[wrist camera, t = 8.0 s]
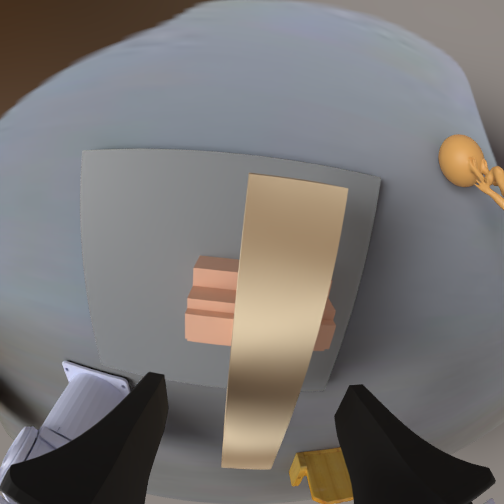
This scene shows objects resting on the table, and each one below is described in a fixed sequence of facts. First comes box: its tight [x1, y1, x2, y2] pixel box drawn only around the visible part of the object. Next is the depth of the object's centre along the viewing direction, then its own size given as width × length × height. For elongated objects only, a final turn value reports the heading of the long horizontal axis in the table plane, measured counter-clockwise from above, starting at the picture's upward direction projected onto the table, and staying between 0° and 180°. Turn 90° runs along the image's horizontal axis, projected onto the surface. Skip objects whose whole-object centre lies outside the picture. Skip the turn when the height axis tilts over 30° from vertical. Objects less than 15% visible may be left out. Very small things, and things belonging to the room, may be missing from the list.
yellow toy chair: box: [289, 447, 353, 504], centre depth 23 cm, size 10×10×9 cm
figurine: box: [439, 134, 504, 210], centre depth 11 cm, size 8×6×12 cm
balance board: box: [80, 149, 381, 392], centre depth 16 cm, size 18×20×6 cm
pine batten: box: [221, 173, 348, 469], centre depth 12 cm, size 16×3×4 cm, turn 174°
